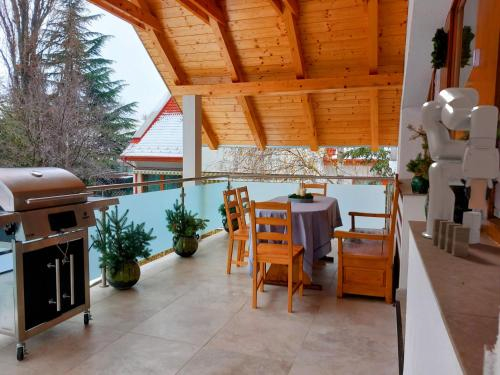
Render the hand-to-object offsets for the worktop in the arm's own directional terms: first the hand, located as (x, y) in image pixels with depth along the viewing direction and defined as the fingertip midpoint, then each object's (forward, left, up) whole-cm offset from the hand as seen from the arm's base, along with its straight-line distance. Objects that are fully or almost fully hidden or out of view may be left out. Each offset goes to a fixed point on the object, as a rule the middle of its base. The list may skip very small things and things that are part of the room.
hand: (477, 198), depth 126 cm
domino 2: (-11, -5, -20) cm, 23 cm away
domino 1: (-16, -6, -20) cm, 26 cm away
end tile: (0, 0, -3) cm, 3 cm away
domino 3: (-6, -4, -20) cm, 21 cm away
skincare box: (-25, +8, -20) cm, 33 cm away
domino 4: (-1, -3, -20) cm, 20 cm away
